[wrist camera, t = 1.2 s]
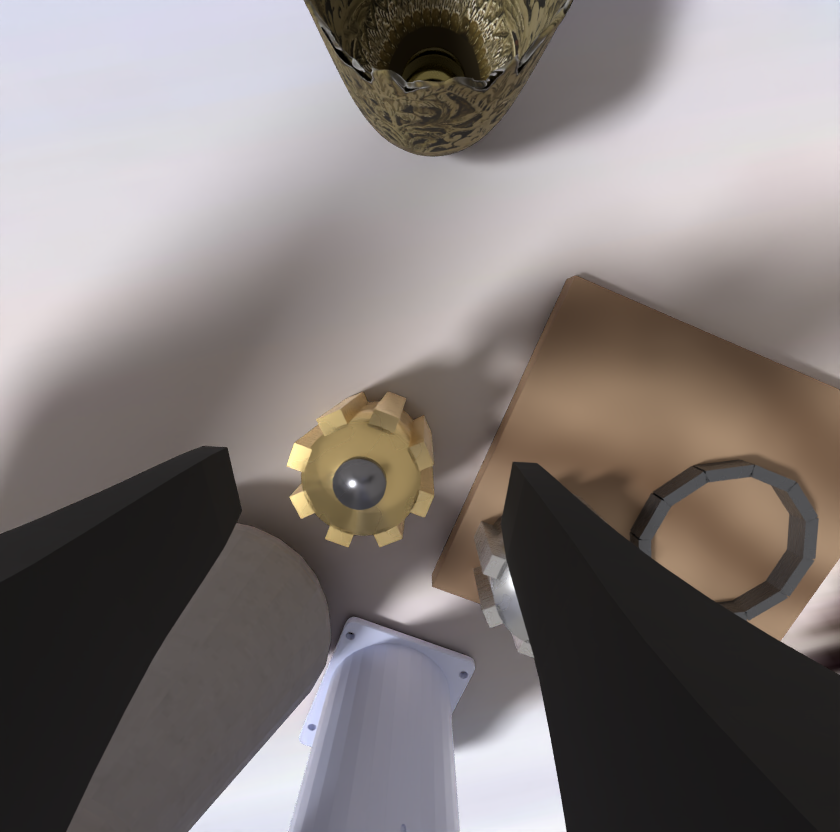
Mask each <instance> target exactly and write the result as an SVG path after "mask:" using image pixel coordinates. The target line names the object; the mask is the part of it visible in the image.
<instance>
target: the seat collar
mask: <svg viewBox="0 0 840 832" xmlns="http://www.w3.org/2000/svg"><path fill="white" fill-rule="evenodd" d="M747 477H752V478H754V479H757V480H759V481H762V482H764V483H767V484H769V485H771V486H772V488H773V489H774V491H775V493H776V494H777V496H778V497H779V499H780V500H781V502H782V504H783V505H784V507H785V508H786V510H787V511H788V513H789V525H788V540H787V550H786V551H785V553H784V554H783V556H782V557H781V559H780V560H779V562H778V563H777V565H776V566H775V567H774V569H773V570H772V572H771V573H770V575H769V576H768V578H767V579H766V581H764V582H762V583H761V584H759V585H757V586H756V587H754V588H752V589H751V590H749V591H747V592H746V593H744V594H742V595H740V596H739V597H737V598H735V599H734V600H732V601H724V602H717V603H718V604H720V605H721V606H723V607H725V608H726V609H728V610H729V611H731V612H733V613H734V614H736V615H738V616H739V617H741V618H742V619H744V620H746V621H747V620H751V619H753V618H754V617H756V616H758V615H760V614H761V613H763V612H765V611H766V610H768V609H770V608H772V607H773V606H775V605H777V604H778V603H780V602H782V601H784V600H785V599H787V598H788V597H787V596H790V595H791V594H792V592H793V591H794V590H795V588H796V587H797V585H798V584H799V582H800V581H801V579H802V578H803V577H804V575H805V574H806V572H807V571H808V569H809V568H810V567H811V565H812V564H813V562H814V561H815V560H813V559H815V558H816V546H817V534H818V522H819V518H817V517H818V515H817V513H816V512H815V510H814V509H813V507H812V505H811V504H810V502H809V500H808V499H807V497H806V496H805V494H804V492H803V491H802V489H801V488H800V486H799V484H798V483H797V482H796V481H794V480H791V479H789V478H786V477H784V476H781V475H779V474H777V473H774V472H772V471H769V470H767V469H764V468H762V467H759V466H757V465H754V464H752V463H749V462H746V461H743V460H739V459H737V460H730V461H722V462H714V463H707V464H699V465H693V467H692V466H691V467H689V468H688V469H686V470H685V471H683V472H681V473H680V474H678V475H677V476H675V477H674V478H672V479H671V480H669V481H668V482H666V483H665V484H663V485H662V486H660V487H659V488H657V489H656V490H654V491H653V493H654V494H655V495H654V494H652V493H651V494H650V496H649V498H648V499H647V501H646V503H645V505H644V507H643V508H642V510H641V512H640V514H639V515H638V517H637V519H636V521H635V522H634V524H633V526H632V528H631V529H630V531H631V532H630V542H631V543H633V544H634V545H635V546H636V547H638V548H639V549H640V550H642V551H643V552H644V553H645V554H647V555H648V556H650V557H651V540H652V539H653V537H654V535H655V533H656V532H657V530H658V528H659V527H660V525H661V523H662V522H663V520H664V518H665V516H666V515H667V513H668V511H669V510H670V508H671V506H673V505H674V504H676V503H677V502H679V501H680V500H682V499H683V498H685V497H687V496H688V495H690V494H691V493H693V492H694V491H696V490H697V489H699V488H700V487H702V486H703V485H705V484H706V483H708V482H716V481H724V480H731V479H739V478H747ZM786 595H787V596H786Z"/></svg>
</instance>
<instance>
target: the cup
mask: <svg viewBox="0 0 840 832" xmlns="http://www.w3.org/2000/svg"><path fill="white" fill-rule="evenodd" d="M304 2H305V4H306V6H307V8H308V10H309V12H310V14H311V16H312V18H313V20H314V22H315V24H316V26H317V29H318V31H319V33H320V35H321V37H322V39H323V41H324V43H325V45H326V47H327V49H328V52H329V54H330V56H331V58H332V60H333V62H334V64H335V66H336V68H337V70H338V72H339V74H340V76H341V78H342V80H343V82H344V84H345V85H346V87H347V89H348V91H349V93H350V95H351V97H352V98H353V100H354V102H355V103H356V105H357V106H358V108H359V109H360V111H361V112H362V114H363V115H364V117H365V118H366V119H367V120H368V122H369V123H370V124H371V125H372V126H373V128H374V129H375V130H376V131H377V132H378V133H379V134H380V135H381V136H382V137H384V138H385V139H386V140H388V141H389V142H390V143H392V144H394V145H395V146H397V147H399V148H401V149H403V150H405V151H407V152H410V153H413V154H417V155H422V156H444V155H449V154H452V153H455V152H458V151H461V150H463V149H465V148H467V147H470V146H471V145H473V144H474V143H476V142H478V141H479V140H480V139H482V138H483V137H484V136H485V135H486V134H487V133H488V132H489V131H490V130H491V129H492V128H493V127H494V126H495V125H496V124H497V123H498V122H499V121H500V120H501V119H502V117H503V116H504V115H505V114H506V112H507V111H508V110H509V108H510V107H511V105H512V104H513V102H514V101H515V99H516V98H517V96H518V95H519V93H520V91H521V90H522V88H523V87H524V85H525V83H526V82H527V80H528V78H529V77H530V75H531V73H532V72H533V70H534V68H535V66H536V65H537V63H538V61H539V59H540V58H541V56H542V54H543V52H544V50H545V49H546V47H547V45H548V43H549V42H550V40H551V38H552V36H553V34H554V33H555V31H556V29H557V27H558V25H559V24H560V23H561V21H562V20H563V19H564V17H565V15H566V13H567V11H568V10H569V8H570V6H571V4H572V2H573V0H304Z"/></svg>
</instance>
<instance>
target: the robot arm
mask: <svg viewBox="0 0 840 832" xmlns="http://www.w3.org/2000/svg"><path fill="white" fill-rule="evenodd" d="M241 512H242V509H241V505H240V500H239V496H238V492H237V487H236V483H235V479H234V474H233V470H232V466H231V461H230V457H229V453H228V448H227V447H209V446H202V447H200V448H197V449H194V450H191V451H189V452H186V453H184V454H182V455H179V456H177V457H175V458H173V459H170V460H168V461H166V462H164V463H162V464H159V465H157V466H155V467H153V468H151V469H149V470H147V471H144V472H142V473H140V474H138V475H136V476H134V477H131V478H129V479H127V480H125V481H123V482H121V483H119V484H116V485H114V486H112V487H110V488H108V489H106V490H103V491H101V492H99V493H97V494H94V495H92V496H90V497H87V498H85V499H83V500H81V501H78V502H76V503H74V504H71V505H69V506H67V507H65V508H62V509H60V510H58V511H55V512H53V513H51V514H49V515H46V516H44V517H42V518H39V519H37V520H34V521H32V522H29V523H27V524H25V525H22V526H20V527H17V528H15V529H12V530H10V531H7V532H4V533H2V534H0V832H66V831H67V829H68V827H69V825H70V823H71V821H72V818H73V816H74V814H75V812H76V810H77V808H78V806H79V804H80V801H81V799H82V797H83V795H84V793H85V791H86V789H87V787H88V784H89V782H90V780H91V778H92V776H93V774H94V772H95V770H96V768H97V766H98V764H99V762H100V760H101V758H102V756H103V754H104V752H105V750H106V748H107V746H108V744H109V742H110V740H111V738H112V736H113V734H114V732H115V730H116V728H117V726H118V724H119V722H120V720H121V718H122V716H123V714H124V712H125V710H126V708H127V707H128V705H129V703H130V701H131V699H132V697H133V695H134V694H135V692H136V690H137V688H138V686H139V684H140V682H141V680H142V679H143V677H144V675H145V673H146V671H147V669H148V667H149V666H150V664H151V662H152V660H153V658H154V657H155V655H156V653H157V652H158V650H159V648H160V647H161V645H162V643H163V642H164V640H165V638H166V637H167V635H168V634H169V632H170V631H171V629H172V628H173V626H174V625H175V623H176V621H177V620H178V618H179V617H180V615H181V614H182V612H183V611H184V609H185V608H186V606H187V605H188V603H189V602H190V600H191V599H192V597H193V595H194V594H195V592H196V591H197V589H198V588H199V586H200V585H201V583H202V582H203V580H204V579H205V577H206V576H207V574H208V573H209V571H210V569H211V568H212V566H213V565H214V563H215V562H216V560H217V558H218V557H219V555H220V554H221V552H222V551H223V549H224V547H225V545H226V543H227V541H228V539H229V537H230V535H231V533H232V531H233V529H234V527H235V525H236V523H237V520H238V518H239V516H240V514H241ZM501 529H502V536H503V542H504V549H505V555H506V561H507V564H508V568H509V572H510V575H511V579H512V582H513V586H514V589H515V593H516V596H517V600H518V603H519V607H520V610H521V614H522V617H523V621H524V624H525V628H526V631H527V635H528V638H529V642H530V645H531V649H532V652H533V656H534V660H535V664H536V668H537V672H538V676H539V680H540V686H541V691H542V696H543V701H544V706H545V711H546V716H547V722H548V727H549V732H550V737H551V743H552V749H553V754H554V760H555V765H556V771H557V776H558V782H559V788H560V793H561V799H562V805H563V812H564V818H565V824H566V830H567V832H840V675H839V674H837V673H835V672H833V671H831V670H830V669H828V668H826V667H824V666H822V665H821V664H819V663H817V662H815V661H814V660H812V659H810V658H808V657H807V656H805V655H803V654H801V653H800V652H798V651H796V650H794V649H793V648H791V647H789V646H787V645H786V644H784V643H782V642H780V641H779V640H777V639H775V638H774V637H772V636H770V635H769V634H767V633H766V632H764V631H762V630H761V629H759V628H757V627H756V626H754V625H752V624H751V623H749V622H747V621H746V620H744V619H742V618H741V617H739V616H738V615H736V614H734V613H733V612H731V611H729V610H728V609H726V608H725V607H723V606H721V605H720V604H718V603H717V602H715V601H714V600H712V599H710V598H709V597H707V596H706V595H704V594H703V593H701V592H700V591H698V590H697V589H695V588H694V587H692V586H691V585H690V584H688V583H687V582H685V581H684V580H682V579H681V578H679V577H678V576H676V575H675V574H673V573H672V572H671V571H669V570H668V569H666V568H665V567H663V566H662V565H661V564H659V563H658V562H656V561H655V560H654V559H652V558H651V557H650V556H648V555H647V554H645V553H644V552H643V551H642V550H640V549H639V548H638V547H636V546H635V545H634V544H633V543H631V542H630V541H629V540H627V539H626V538H625V537H623V536H622V535H621V534H620V533H618V532H617V531H616V530H615V529H613V528H612V527H611V526H610V525H609V524H607V523H606V522H605V521H604V520H602V519H601V518H600V517H599V516H598V515H596V514H595V513H594V512H593V511H592V510H591V509H589V508H588V507H587V506H586V505H585V504H584V503H582V502H581V501H580V500H579V499H578V498H577V497H576V496H575V495H573V494H572V493H571V492H570V491H569V490H568V489H567V488H566V487H564V486H563V485H562V484H561V483H560V482H559V481H558V480H557V479H555V478H554V477H553V476H552V475H551V474H550V473H549V472H547V471H546V470H545V469H544V468H543V467H542V466H540V465H539V464H538V463H530V462H513V463H512V468H511V473H510V478H509V484H508V489H507V494H506V499H505V504H504V509H503V514H502V520H501ZM348 632H352V633H354V634H349V633H348ZM462 671H465V672H464V673H461V672H462ZM474 671H475V663H474V660H473V659H472V658H471V657H469V656H466V655H464V654H461V653H458V652H455V651H452V650H449V649H446V648H444V647H441V646H438V645H435V644H432V643H429V642H426V641H423V640H421V639H418V638H415V637H412V636H409V635H406V634H403V633H401V632H398V631H395V630H392V629H389V628H386V627H383V626H381V625H378V624H375V623H372V622H369V621H366V620H363V619H361V618H358V617H351V618H349V619H348V620H347V621H346V623H345V626H344V628H343V631H342V633H341V635H340V638H339V640H338V643H337V645H336V647H335V650H334V652H333V655H332V657H331V660H330V662H329V664H328V667H327V669H326V672H325V674H324V676H323V679H322V681H321V684H320V686H319V689H318V691H317V693H316V696H315V698H314V701H313V703H312V706H311V708H310V710H309V713H308V715H307V718H306V720H305V722H304V725H303V727H302V730H301V732H300V736H299V740H300V742H301V743H302V744H304V745H307V746H310V747H312V748H311V751H310V755H309V758H308V762H307V765H306V769H305V773H304V776H303V780H302V783H301V787H300V791H299V794H298V798H297V801H296V805H295V808H294V812H293V816H292V819H291V823H290V826H289V830H288V832H460V825H459V812H458V798H457V784H456V771H455V757H454V744H453V730H452V717H451V715H452V713H453V711H454V709H455V707H456V705H457V704H458V702H459V700H460V698H461V696H462V694H463V692H464V690H465V688H466V686H467V684H468V682H469V680H470V678H471V676H472V674H473V673H474Z"/></svg>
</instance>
